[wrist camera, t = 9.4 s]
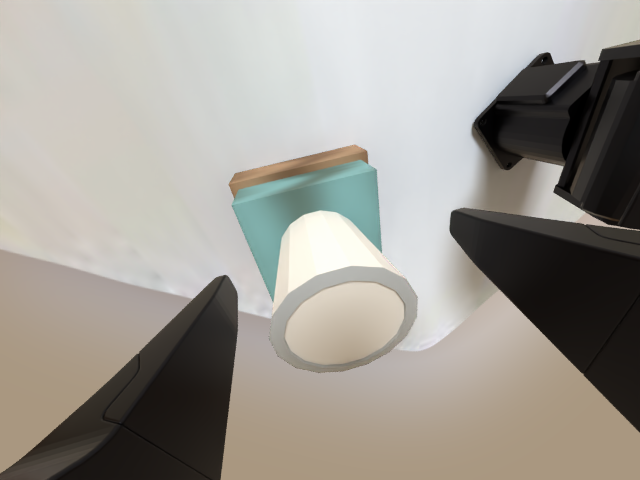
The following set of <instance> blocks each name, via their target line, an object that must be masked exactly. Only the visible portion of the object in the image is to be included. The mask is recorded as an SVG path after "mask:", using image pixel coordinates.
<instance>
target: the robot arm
mask: <svg viewBox="0 0 640 480" xmlns="http://www.w3.org/2000/svg"><path fill="white" fill-rule="evenodd" d="M542 59H543V61H542ZM541 61H542V63H541ZM598 61H600V62H598V63H590V64H586V63H585V60H580V61H572V62H565V63H559V64H554V62H553V60H552V57H551V54H550V53H548V52H547V53H542V54H539V55H538V56H537V57H536V58H535V59H534V60H533V61H532V62H531V63H530V64H529V65H528V66H527V67H526V68H525V69H523V70H522V71H521V72H520V73H519V74H518V75H517V76H516V77H515V78H514V79H513V80H512V81H511V82H510V83H509V84H508V85H507V87H506V88H505V89H504V90H503V91H502V92H501V93H500V94H499V95H498V96H497V97H496V99H495V100H494V101H493V102H492V103H491V104H490V105H489V106H488V107H487V108H486V109H485V110H484V111H483V112H482V113H481V114H480V115H479V116H478V117H477V118H476V120H475V122H474V126H475V128H476V130H477V131H478V133H479V134H480V136H481V138H482V139H483V141H484V142H485V144H486V145H487V147H488V149H489V150H490V152H491V153H492V155H493V156H494V158H495V160H496V161H497V163H498V164H499V166H500V167H501V169H503V170H510V169H511V168H512V167H513V166H514V165H516V164H517V163H518V162H519V161H520V160H521V159H522V158H528V159H532V160H537V161H542V162H546V163H551V164H556V165H560V166H564V167H563V170H562V173H561V176H560V179H559V182H558V184H557V185H556V186H555V188H554V191H553V192H554V193H555V194H557V195H559V196H560V197H562V198H563V199H565V200H567V201H568V202H570V203H572V204H573V205H575V206H577V207H578V208H580V209H581V210H583V211H585V212H586V213H588V214H590V215H591V216H593V217H595V218H596V219H599V220H601V221H603V222H604V223H606V224H608V225H614V226H620V227H625V228H631V229H639V230H640V40H637V41H633V42H629V43H625V44H621V45H617V46H613V47H609V48H605V49H602V51H601V54H600V57H599V60H598ZM482 120H483V122H482V124H480V123H481V121H482ZM507 164H508V165H507ZM450 233H451V235H452V236H453V238H454V239H455V240H456V241H457V243H458V244H459V245H460V246H461V248H462V249H463V250H464V252H465V253H466V254H467V255H468V257H469V258H470V259H471V260H472V261H473V263H474V264H475V265H476V266H477V267H478V268H479V269H480V270H481V271H482V272H483V273H484V274H485V275H486V276H487V277H488V278H489V279H490V280H491V281H492V282H493V283H494V284H495V285H496V286H497V287H498V288H499V289H500V290H501V291H502V292H503V293H504V294H505V296H506V297H507V298H509V300H510V301H511V302H512V303H513V304H514V305H515V306H516V307H517V308H518V309H519V310H520V311H521V312H522V313H523V314H524V315H525V316H526V317H527V318H528V319H529V320H530V321H531V322H532V323H533V324H534V325H535V326H536V327H537V328H538V329H539V330H540V331H541V332H542V333H543V334H544V335H545V336H546V337H547V338H548V339H549V340H550V341H551V342H552V343H553V344H554V345H555V346H556V347H557V349H558V350H559V351H560V352H562V354H563V355H564V356H565V357H566V358H567V359H568V360H569V361H570V362H571V363H572V364H573V365H574V366H575V367H576V368H577V369H578V370H579V371H580V372H581V373H583V374H584V376H585V377H586V378H587V379H588V380H589V381H590V382H591V383H592V384H593V385H594V386H595V387H596V388H597V390H598V391H599V392H600V393H602V394H603V396H604V397H605V398H606V399H607V400H608V401H609V402H610V403H611V404H612V405H613V406H614V407H615V408H616V409H617V410H618V411H619V412H620V413H621V414H622V415H623V416H624V417H625V418H626V419H627V420H628V421H629V422H630V423H631V424H632V425H633V426H634V427H635V428H636V429H637V430H638V431H639V432H640V231H636V230H627V229H619V228H611V227H603V226H595V225H588V224H587V225H584V224H580V223H573V222H565V221H558V220H551V219H543V218H536V217H528V216H521V215H513V214H506V213H499V212H491V211H484V210H476V209H469V208H460V209H457V210H453V211H452V212H451V217H450ZM237 332H238V295H237V291H236V289H235V287H234V285H233V283H232V282H231V280H230V278H229V277H228V276H227V275H223V276H219V277H216V278H215V279H214V280H213V281H212V282H211V283H210V284H208V285H207V286H206V287H205V288H204V289H203V290H202V291H201V292H200V293H199V294H198V295H197V296H196V297H195V298H194V299H193V300H192V301H191V302H190V303H189V304H188V305H187V306H186V307H185V308H184V309H183V310H182V311H181V312H180V313H179V314H178V315H177V316H176V317H175V318H174V319H172V320H171V321H170V323H168V324H167V325H166V326H165V327H164V328H163V329H162V330H161V331H160V332H159V333H158V334H157V335H156V336H155V337H154V338H153V339H152V340H151V341H150V342H149V343H148V344H147V345H146V346H145V347H144V348H143V349H142V350H141V351H140V352H139V354H136V355H135V356H134V357H133V358H132V359H131V360H130V361H129V362H128V363H127V364H126V365H125V366H124V367H123V368H122V369H121V370H120V371H119V372H118V373H117V374H116V375H115V376H114V377H112V378H111V379H110V380H109V381H108V382H107V383H106V384H105V385H104V386H103V387H102V388H100V389H99V390H98V391H97V392H96V393H95V394H94V395H93V396H92V397H90V398H89V399H88V400H87V401H86V402H85V403H84V404H83V405H82V406H80V407H79V408H78V409H77V410H76V411H75V412H74V413H72V414H71V415H70V416H69V417H68V418H67V419H66V420H65V421H63V422H62V423H61V424H60V425H59V426H58V427H57V428H56V429H54V430H53V431H52V432H51V433H50V434H49V435H48V436H47V437H45V438H44V439H43V440H42V441H41V442H40V443H39V444H38V445H36V446H35V447H34V448H33V449H32V450H31V451H30V452H28V453H27V454H26V455H25V456H24V457H22V458H21V459H20V460H19V461H17V462H16V463H15V464H13V465H12V466H11V467H9V468H8V469H6V470H5V471H3V472H2V473H0V480H220V479H221V469H222V462H223V453H224V445H225V435H226V427H227V419H228V411H229V410H228V409H229V401H230V393H231V384H232V375H233V368H234V359H235V351H236V342H237Z"/></svg>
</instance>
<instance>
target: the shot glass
mask: <svg viewBox="0 0 640 480" xmlns="http://www.w3.org/2000/svg"><path fill="white" fill-rule="evenodd" d="M416 317H417V295H416V294H415V292H414V291H413V289H412V287H411V286H410V284H409V283H408V281H407V279H406V278H405V277H404V276H403V275H402V274H401V273H400V272H399V271H398V270H397V269H396V268H395V267H394V266H393V265H392V264H391V263H390V262H389V260H388V259H387V258H386V257H385V256H384V255H383V254H382V253H381V252H380V251H379V250H378V249H377V248H376V247H375V246H374V245H373V244H372V243H371V242H370V241H369V240H368V239H367V237H366V236H365V235H364V234H363V233H362V232H361V231H360V230H359V229H358V228H357V227H356V226H355V225H354V224H353V223H352V222H351V221H350V220H349V219H347V218H346V217H344V216H342V215H340V214H339V213H337V212H330V211H321V210H320V211H316V212H312V213H308V214H304V215H302V216H301V217H300V218H298V219H297V220H295V221H294V222H293V223H291V224H290V225H289V227H288V228H287V230H286V231H285V233H284V235H283V236H282V239H281V247H280V255H279V263H278V271H277V279H276V287H275V295H274V303H273V311H272V319H271V326H270V335H269V340H270V341H271V343H272V346H273V347H274V349H275V351H276V353H277V355H278V357H280V358H281V359H283V360H284V361H286V362H287V363H289V364H291V365H292V366H294V367H295V368H299V369H303V370H309V371H313V372H318V373H320V372H338V371H345V370H349V369H352V368H356V367H359V366H363V365H366V364H369V363H370V362H372V361H374V360H376V359H378V358H379V357H381V356H383V355H385V354H387V353H388V352H390V351H391V350H392V349H393V348H394V347H395V346H396V345H397V344H398V343H399V342H401V341H402V340H403V339H404V338H405V337H406V336H407V334H408V332H409V330H410V329H411V327H412V325H413V323H414V321H415V319H416Z"/></svg>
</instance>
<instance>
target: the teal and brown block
mask: <svg viewBox="0 0 640 480" xmlns="http://www.w3.org/2000/svg"><path fill="white" fill-rule="evenodd" d="M229 186H230V189H231V191H232V194H233V196H234V198H235V199H234V201H233V203H232V207H233V210H234V212H235V214H236V217H237V219H238V221H239V224H240V226H241V228H242V231H243V233H244V235H245V238H246V240H247V242H248V245H249V247H250V249H251V252H252V254H253V256H254V259H255V261H256V263H257V266H258V268H259V270H260V273H261V275H262V277H263V280H264V282H265V284H266V287H267V289H268V291H269V294H270V296H271V298H272V301H273V303H274V295H275V287H276V279H277V271H278V263H279V255H280V247H281V239H282V236H283V235H284V233H285V231H286V230H287V228H288V227H289V225H290V224H291V223H293V222H294V221H295V220H297V219H298V218H300V217H301V216H302V215H304V214H308V213H312V212H316V211H320V210H321V211H330V212H337V213H339V214H340V215H342V216H344V217H346V218H347V219H349V220H350V221H351V222H352V223H353V224H354V225H355V226H356V227H357V228H358V229H359V230H360V231H361V232H362V233H363V234H364V235H365V236H366V237H367V239H368V240H369V241H370V242H371V243H372V244H373V245H374V246H375V247H376V248H377V249H378V250H379V251H380V252H381V253H382V247H381V231H380V216H379V200H378V185H377V170H376V169H375V168H373V167H372V166H370V165H369V164H368V156H367V151H366V150H364V149H362V148H360V147H358V146H356V145H352V146H347V147H343V148H339V149H335V150H331V151H327V152H322V153H318V154H314V155H310V156H306V157H302V158H297V159H293V160H289V161H285V162H281V163H277V164H273V165H268V166H264V167H260V168H256V169H252V170H248V171H243V172H239V173H235V174H234V176H233V178H232V180H231V181H230V183H229Z"/></svg>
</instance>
